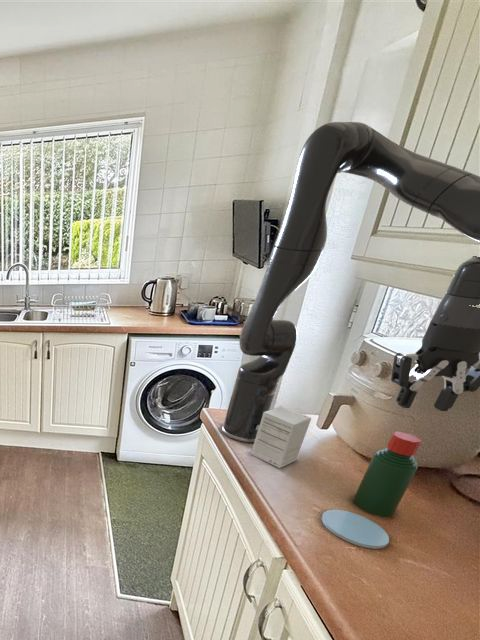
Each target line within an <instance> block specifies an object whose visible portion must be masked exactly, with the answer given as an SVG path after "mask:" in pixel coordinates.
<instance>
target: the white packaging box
mask: <svg viewBox="0 0 480 640" xmlns="http://www.w3.org/2000/svg"><path fill="white" fill-rule="evenodd" d="M311 421H312V417H311V416H308V415H306V414H303V413H300V412H297V411H296V410H291V409H289V408H287V407H284V406H280V405H279V406H277V407H274V408H272V409H271V408H270V410H269V411H266V412H264V413H263V416H262V419H261V423H260V426H259V429H258V432H257V435H256V439H255V442H253V446H252V448H251V452H250V454H251V455H252V456H254V457H256V458H257V459H260V460H262V461H264V462H265V463H268V464H270V465H272V466H274V467H276V468H278V469H281V468H283V467H285V466H288V465H290V464H291V463H293V462H296V461H297V459H298V456H299V453H300V450H301V449H302V445H303V443H304V440H305V437H306V434H307V432H308V429H309V427H310V424H311Z"/></svg>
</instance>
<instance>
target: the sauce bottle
mask: <svg viewBox="0 0 480 640" xmlns="http://www.w3.org/2000/svg"><path fill="white" fill-rule="evenodd" d="M418 464H419V463H418V461H417V460H416V459H415V458H414V455H413V456H405V455H401V454H397V453H395V452H392V451H390V450H389V449H388V448H387V447H386V448H382V449H379V450H377V451H376V452H374V453H373V455H372V458H371V460H370V462H369V464H368V467H367V468H366V471H365V472H364V475H363V477H362V479H361V481H360V483H359V486H358V488H357V490H356V492H355V494H354V496H353V498H352V501H353V504H354V505H356V507H358V508H359V509H361V510H362V511H365V512H367V513H369V514H372V515H375V516H377V517H378V516H379V517H385V518H389V517H392V516H394V514H395V512H396V510H397V508H398V507H399V504H400V502H401V501H402V499H403V498H404V495H405V494H406V491H407V490H408V487H409V485H410V483H412V480H413V478H414V476H415V474H416V472H417V471H418V468H419V465H418Z"/></svg>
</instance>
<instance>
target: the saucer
mask: <svg viewBox="0 0 480 640" xmlns="http://www.w3.org/2000/svg"><path fill="white" fill-rule="evenodd" d="M321 522H322V524H323V526H324V527H325V528H326V529H327V530H328V531H329V532H330V533H332V534H333V535H334V536H336V537H337V538H340V539H341V540H343V541H345V542H347V543H350V544H352V545H355V546H359V547H361V548H366V549H374V550H380V549H384V548H386V547H387V546H388V545H389V543H390V537H389V534H388V533H387V531H386V530H384V529H383V528H382V527H381V526H380V525H379V524H377V523H375V522H374V521H373V520H371V519H369V518H367V517H364V516H363V515H360V514H357V513H354V512H351V511H349V510H348V511H347V510H343V509H328V510H326V511H324V512H323V513H322V515H321Z"/></svg>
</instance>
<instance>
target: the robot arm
mask: <svg viewBox="0 0 480 640" xmlns="http://www.w3.org/2000/svg"><path fill="white" fill-rule="evenodd" d="M340 173H345V174H350V175H355V176H359V177H363V178H366V179H368V180H370V181H371V180H372V181H373V182H375V183H377V184H379V185H380V186H382V187H384V188H385V190H387V191H388V192H389V193H390V194H392V196H394V197H395V198H397V199H398V200H399V201H401V202H403V203H404V204H406V205H408V206H411V207H413V208H415V209H417V210H419V211H421V212H423V213H426V214H428V215H430V216H432V217H435V218H437V219H440V220H441V221H443V222H445V223H446V224H448V225H449V226H450V227H452V228H453V229H455V230H456V231H458V232H459V233H461V234H463V235H464V236H466V237H468V238H470V239H472V240H474V241H476V242H480V175H477V174H475V173H473V172H469V171H467V170H464V169H461V168H459V167H456V166H454V165H451V164H448V163H445V162H442V161H439V160H436V159H433V158H430V157H428V156H425V155H422V154H419V153H417V152H414V151H412V150H409V149H407V148H405V147H403V146H402V145H400V144H398V143H397V142H395V141H392V140H391V139H389V138H388V137H386V136H385V135H383V134H382V133H381V132H379V131H378V130H376V129H374V128H373V127H372V126H370V125H368V124H366V123H363V122H360V121H331V122H328V123H325V124H323V125H321V126H319V127H317V128H316V129H315V130H314V131H313V132H312V133H311V134H310V135H309V136H308V137H307V139H306V141H305V142H304V144H303V146H302V148H301V150H300V154H299V157H298V161H297V165H296V169H295V175H294V178H293V182H292V188H291V191H290V195H289V200H288V202H287V207H286V209H285V212H284V216H283V218H282V222H281V224H280V227H279V231H278V234H277V236H276V239H275V241H274V244H273V247H272V250H271V253H270V255H269V259H268V262H267V266H266V269H265V272H264V275H263V277H262V281H261V284H260V286H259V289H258V292H257V294H256V297H255V299H254V301H253V304H252V306H251V307H250V310H249V312H248V314H247V317H246V319H245V321H244V323H243V325H242V328H241V331H240V335H239V342H238V343H239V345H238V346H239V349H240V351H241V353H243V355H246V356H251V357H253V356H254V357H256V358H255V359H253V360H251V361H249V362H245V363H243V364H241V365H240V366H239V368H238V371H237V374H236V378H235V380H234V381H235V382H234V384H233V389H232V391H231V396H230V398H229V403H228V407H227V411H226V414H225V417H224V421H223V424H222V427H221V432H222V433H223V435H225V436H226V437H228V438H230V439H231V440H232V439H233V440H235V441H239V442H243V443H254V442H255V439H256V435H257V432H258V429H259V426H260V423H261V419H262V416H263V413H264V412H266V411H269V410H271V407H272V404H273V401H274V397H275V395H276V391H277V388H278V385H279V381H280V380H281V378H282V376H283V375H284V374H285V372H286V370H287V368H288V366H289V364H290V360H291V358H292V355H293V353H294V351H295V348H296V346H297V341H298V330H297V327H296V324H295V323H293V322H292V321H290V320H286V319H274V318H275V315H276V314H277V312H278V310H279V308H280V307H281V306H282V304H283V303H284V302H285V301H286V300H287V299H288V298H289V297H290V296H291V295H292V294H293V293H294V292H295V291H296V290H298V288H300V287H301V286H302V285H303V284H304V283H305V282H306V281H308V279H309V278H310V277H311V276H312V275H313V273H314V272H315V271H316V268H317V266H318V264H319V261H320V260H321V256H322V254H323V252H324V249H325V247H326V244H327V238H328V225H327V221H328V220H327V210H326V208H327V201H328V197H329V194H330V191H331V189H332V186H333V184H334V181H335V178H336V176H337V174H340ZM479 304H480V257H477V256H473V255H472V256H471V257H470V258H468V259H467V260H465V261H463V262H462V263H461V264H460V265H459V266H458V267H457V269H456V270H455V272H454V274H453V277H452V279H451V280H450V283H449V286H448V287H447V290H446V291H445V294H444V295H443V297H442V299H441V300H440V301H439V303H438V305H437V307H436V309H435V311H434V313H433V316H432V317H431V319H430V322H429V324H428V326H427V328H426V330H425V332H424V335H423V336H422V338H421V347H420V348H419V349H418V350H416V351H415V353H409V354H404V353H401V352H398V353H396V354H395V355H394V356H393V357H394V358H393V364H392V371H391V379H390V382H392V383H394V384H396V385H398V386H399V387H401V388H400V390H399V393H398V395H397V397H396V399H395V400H396V403H397V405H398V406H400V407H401V408H403V409H410V408H411V407H412V405H413V402H414V400H415V398H416V396H417V394H418V392H419V391H417V390H418V389H419V388H420V387H422V386H423V384H424V383H427V382H428V383H429V382H430V381H431V380H432V379H433V378H434V377H442V378H443V387H444V389H443V388H442V389H441V390H440V393H439V394H438V396H437V398H436V400H435V402H434V404H433V408H434V409H436V410H438V411H440V412H448V411H449V409H451V408H452V407H453V406H454V404H456V403H455V402H456V400H457V399H458V398H459V395H461V394H462V393H466V392H470V393H474V392H476V391H477V390H478V389H479V388H480V308H477V307H472V305H474V306H476V305H479ZM469 305H471V306H469ZM415 362H416V364H415ZM412 366H413V367H412ZM468 369H469V370H468ZM467 370H468V371H467ZM466 371H467V372H466ZM422 373H423V374H422Z"/></svg>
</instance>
